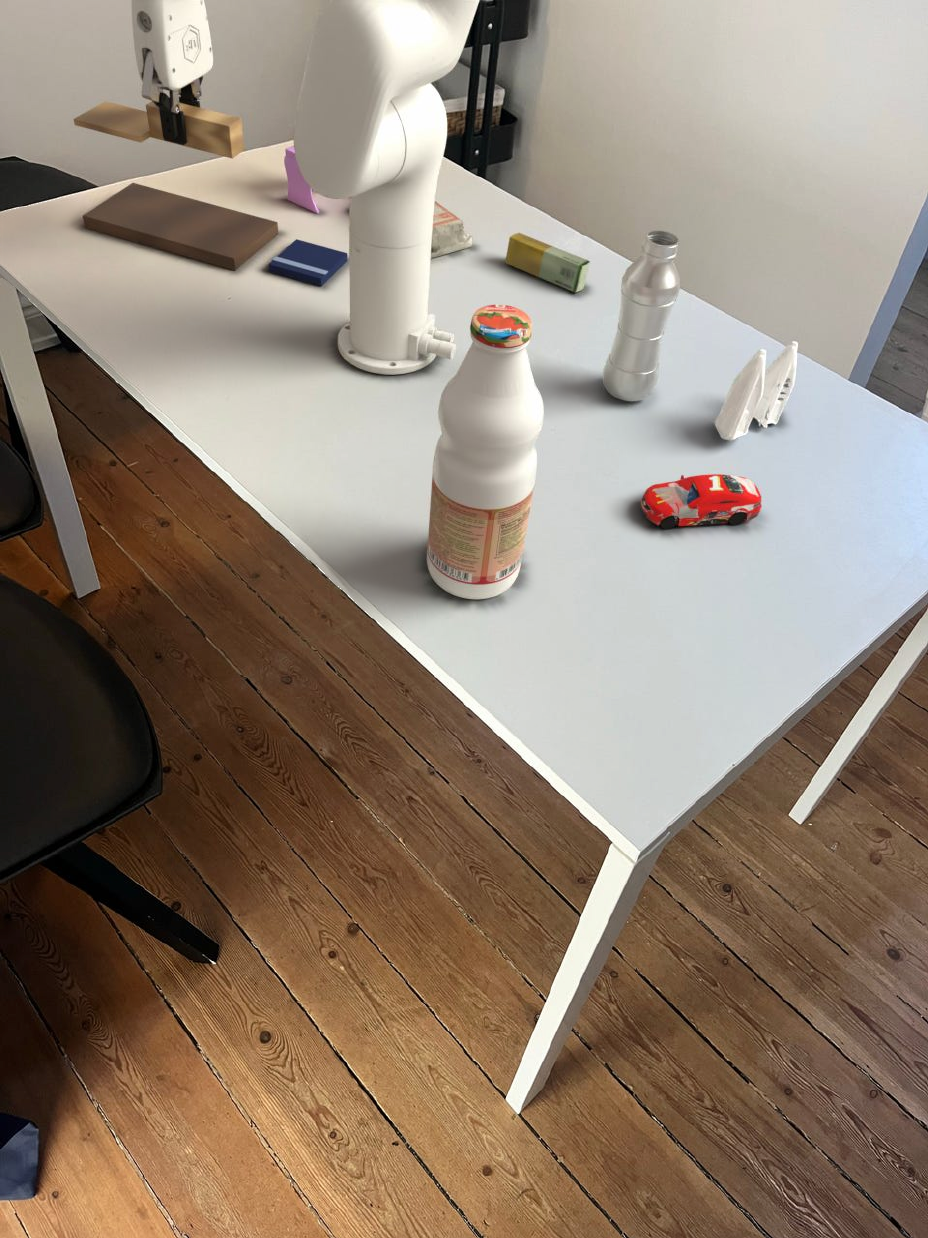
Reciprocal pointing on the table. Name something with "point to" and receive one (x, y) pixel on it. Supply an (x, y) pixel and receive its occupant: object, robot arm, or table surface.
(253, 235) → the walnut board
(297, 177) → the toy chair
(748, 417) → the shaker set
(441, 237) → the packaged product
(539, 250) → the medication box
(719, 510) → the race car
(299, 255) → the navy tea towel
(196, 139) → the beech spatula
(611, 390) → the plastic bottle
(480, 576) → the fruit juice
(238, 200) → the table surface
